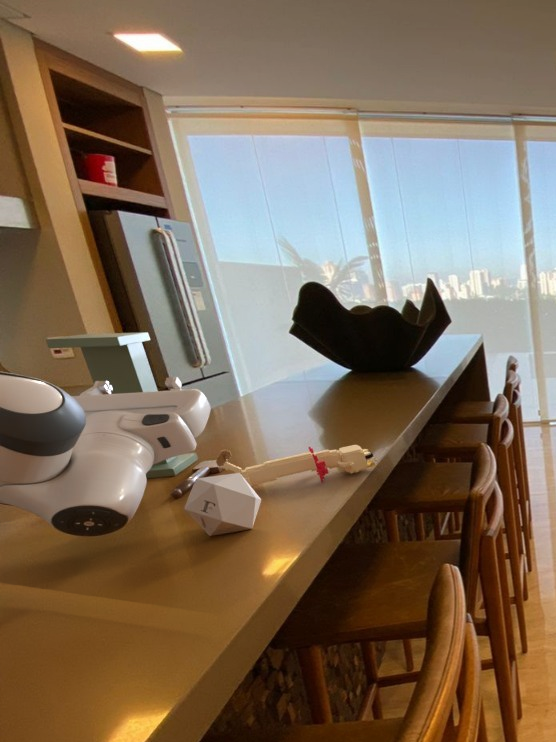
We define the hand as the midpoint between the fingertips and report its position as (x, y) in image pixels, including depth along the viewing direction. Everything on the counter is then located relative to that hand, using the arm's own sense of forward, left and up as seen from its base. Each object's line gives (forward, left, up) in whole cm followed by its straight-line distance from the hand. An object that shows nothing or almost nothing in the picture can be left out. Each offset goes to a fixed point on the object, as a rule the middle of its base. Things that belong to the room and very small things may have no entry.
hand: (140, 382), depth 92 cm
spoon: (0, +8, -20) cm, 21 cm away
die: (+14, -21, -20) cm, 32 cm away
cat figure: (+20, +1, -20) cm, 28 cm away
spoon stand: (-11, +18, -20) cm, 29 cm away
